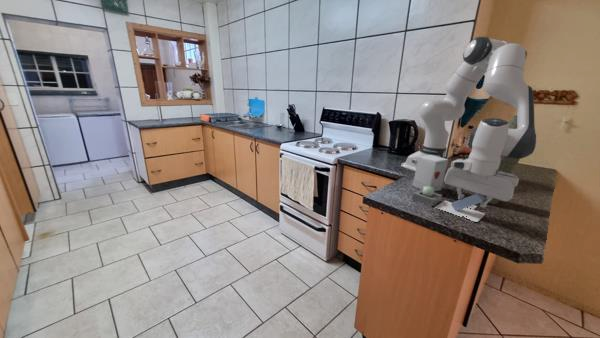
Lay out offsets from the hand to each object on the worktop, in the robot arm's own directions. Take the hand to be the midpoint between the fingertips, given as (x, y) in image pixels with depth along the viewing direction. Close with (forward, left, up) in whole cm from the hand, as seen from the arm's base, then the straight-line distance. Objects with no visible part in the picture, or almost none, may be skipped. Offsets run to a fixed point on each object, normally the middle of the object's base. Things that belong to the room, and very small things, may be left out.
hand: (471, 202), depth 88 cm
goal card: (-3, +9, -5) cm, 10 cm away
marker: (-5, 0, -4) cm, 6 cm away
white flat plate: (-3, +1, -5) cm, 6 cm away
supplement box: (-21, +14, -5) cm, 26 cm away
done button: (-15, 0, -3) cm, 15 cm away
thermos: (0, +21, -5) cm, 21 cm away
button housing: (-15, 0, -5) cm, 16 cm away
